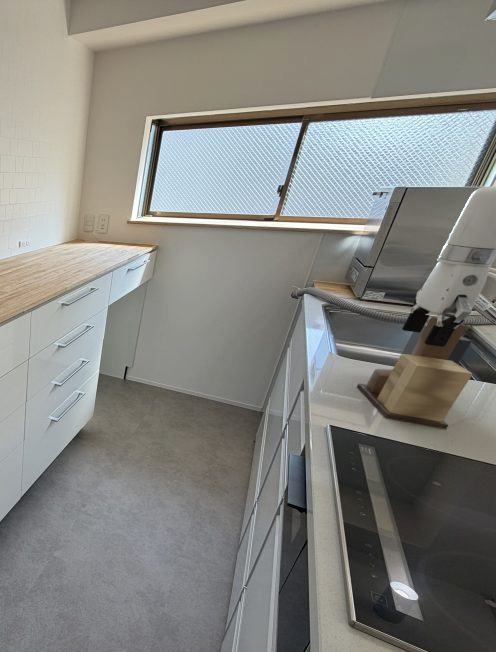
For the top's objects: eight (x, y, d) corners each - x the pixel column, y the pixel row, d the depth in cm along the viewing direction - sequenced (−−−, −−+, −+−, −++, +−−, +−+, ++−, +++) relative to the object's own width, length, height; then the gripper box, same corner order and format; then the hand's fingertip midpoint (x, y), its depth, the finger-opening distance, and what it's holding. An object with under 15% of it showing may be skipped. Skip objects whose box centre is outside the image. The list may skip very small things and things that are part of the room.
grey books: (418, 381, 104) (451, 325, 97) (437, 396, 97) (474, 336, 90) (388, 376, 106) (418, 321, 99) (404, 391, 99) (438, 332, 92)
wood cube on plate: (408, 395, 97) (435, 348, 91) (446, 429, 83) (481, 376, 78) (356, 386, 100) (380, 340, 94) (385, 417, 87) (414, 366, 81)
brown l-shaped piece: (370, 392, 95) (410, 317, 87) (365, 385, 98) (403, 312, 90) (422, 403, 91) (468, 325, 83) (415, 395, 95) (459, 320, 87)
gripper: (523, 265, 73) (468, 354, 80) (465, 252, 87) (423, 329, 95) (468, 260, 75) (420, 348, 83) (420, 248, 89) (382, 323, 97)
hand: (421, 337), depth 89 cm, fingers open, 9 cm apart
